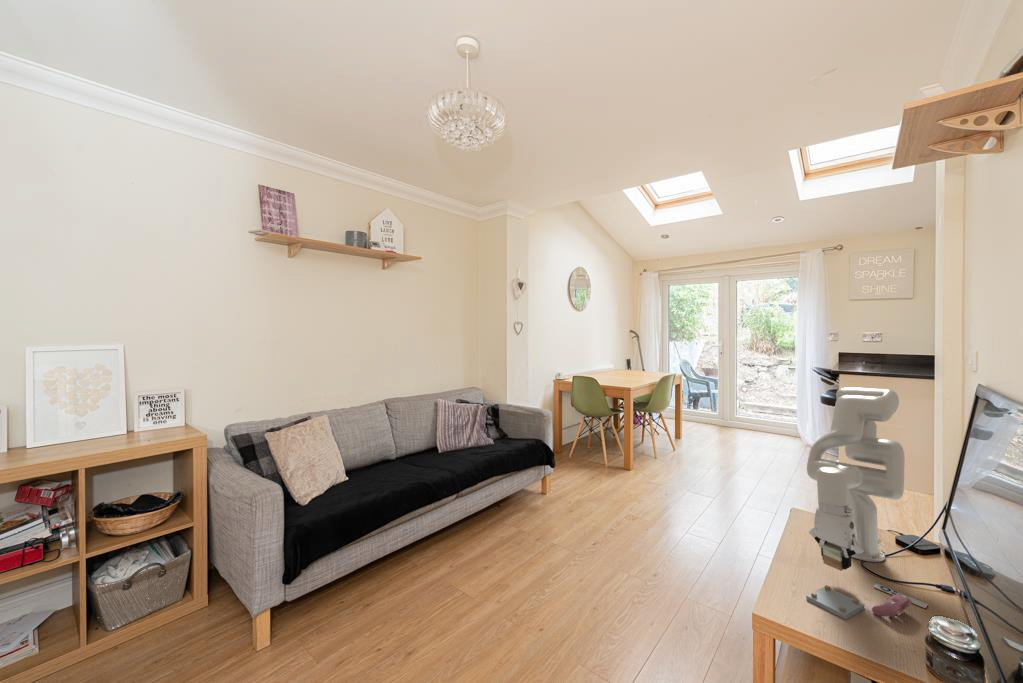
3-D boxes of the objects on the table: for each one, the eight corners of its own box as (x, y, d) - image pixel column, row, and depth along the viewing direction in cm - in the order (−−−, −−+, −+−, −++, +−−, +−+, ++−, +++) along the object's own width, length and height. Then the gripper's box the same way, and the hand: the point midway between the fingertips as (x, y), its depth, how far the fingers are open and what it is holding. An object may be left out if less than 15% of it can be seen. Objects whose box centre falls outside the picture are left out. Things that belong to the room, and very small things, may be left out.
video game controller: (887, 627, 110) (901, 611, 107) (868, 610, 114) (881, 594, 111) (905, 616, 114) (919, 600, 111) (887, 601, 118) (900, 585, 115)
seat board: (825, 590, 125) (825, 582, 125) (864, 608, 116) (864, 600, 116) (806, 599, 120) (806, 592, 120) (845, 619, 111) (845, 611, 111)
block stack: (831, 558, 131) (830, 540, 131) (849, 566, 127) (848, 547, 127) (823, 563, 129) (822, 544, 129) (841, 570, 125) (839, 551, 125)
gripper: (872, 514, 122) (875, 573, 122) (810, 495, 137) (813, 548, 137) (859, 520, 118) (862, 581, 119) (797, 500, 134) (800, 554, 134)
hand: (836, 563), depth 128 cm, fingers closed on block stack, 4 cm apart
